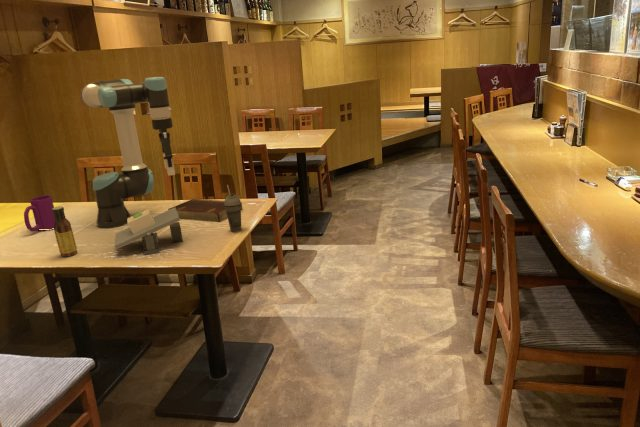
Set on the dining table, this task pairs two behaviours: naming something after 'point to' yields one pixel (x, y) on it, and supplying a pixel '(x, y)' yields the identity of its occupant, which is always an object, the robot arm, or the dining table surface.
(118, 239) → the instrument plate
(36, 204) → the mug
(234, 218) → the beverage cup
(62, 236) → the sauce bottle
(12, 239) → the dining table surface
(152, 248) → the pivot stand
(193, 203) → the hardback book
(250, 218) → the dining table surface
